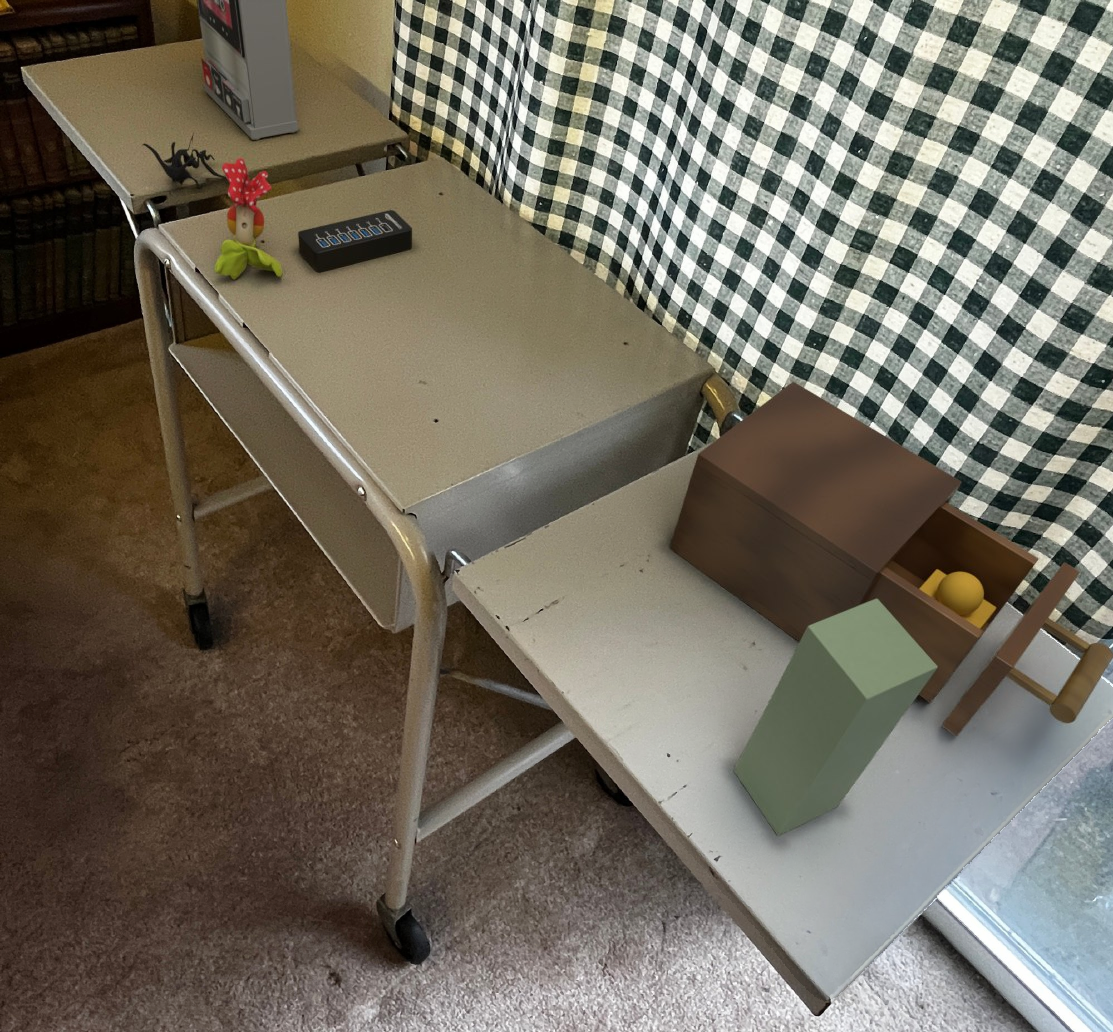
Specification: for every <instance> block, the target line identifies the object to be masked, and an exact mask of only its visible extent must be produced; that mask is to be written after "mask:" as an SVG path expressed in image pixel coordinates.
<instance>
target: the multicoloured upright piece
mask: <svg viewBox="0 0 1113 1032" xmlns="http://www.w3.org/2000/svg"><path fill="white" fill-rule="evenodd" d="M221 170H222V171H223V173H224V175H225V177H226V178H227V179H226V180H227V181H228V183H229V186H228V189H227V195H228V197H229V199H230V201H231V202H232V203H233V205H231V206H230V208H229V209H228V211H227V215H226V224H227V228H228V230H229V232H230V233H231V234H232V235H233V237H234V240H233V239H225V240H224V241H223V242H222V243H221V245H220V255H219V257H217V259H216V261H215V265H214V269H213V271H214V272H215V273H216V274H218V275H222V276H230V277H231V278H230V279H232V280H234V281H235V280H236V279H238V278H239V277H240V275H241V274H242V273H243V272H244V271H245V269H246V268H247V265H249V266H252V267H253V268H256V269H257V268H258V269H261V270H263V271H267V272H273V273H275V275H276V277H282V276H283V268H282V265H281V263H280V262H279V260H277V259H276V258H274V257H272V256H271V255H269V254H268V253H267V252H266V251H264V250H261V248H257V246H256V240H255V239H258V238H259V237H260V236H261V235H262V233H263V230H264V229H265V216H264V214H263V211H262V210H261V209H260V208H259V207H258V206H257V204H258V203H257V201H258V199H259V198H261V197H263V196H264V195H266V194H268V193H269V192H270V191H271V190H272V189H273V187H272V186H271V185H270V183H269V182H268V181H267V179H268V177H269V173H268V172H267V171H265V170H262V171H260V172H259V173H258V174H257V175H256V176H255V177H253V178H252V179H251V180H250V178H249V171H248V169H247V165H246V162H245V160H244V158H242V157H239V158H237V159H236V160H235V162H232V163H231V162H224V163H223V164H222V166H221Z"/></svg>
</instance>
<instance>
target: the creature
mask: <svg viewBox="0 0 1113 1032" xmlns="http://www.w3.org/2000/svg"><path fill="white" fill-rule="evenodd" d="M194 134H195V131H193V132H192V135H191V138H190V141H189V143H188V148H181V149H178V150H177V151H176V152H175V147H176V141H173V142H172V143H171V145H170V146H171V147H170V149H171V157H169V158H167V159H164V160H163V159H162V158H161V156H160V154H159V153H158V151H156V150H155V149H154V148H153V147H152V146H151V145H149V144H147V143H142V145H141V146H144V147H146V148H147V149H148V150H150V152H152V153H153V155H154V157H155V158H156V160H157V162H158V163H159V164H160V166H161V167H162V169H163V170H164V172H165V174H166V175H167V176H168V177H169V178H170V179H171V181H172V182H177V183H179V184H180V185H181V186H182V185H183V184H184V182H185V181H186V180H188V179H191V180H193V181H194V182H195V185H196V187H197V188H198V189H201V188H202V187H203V186H204V185H206V184H207V183H208V182H209V180H215V179H216V180H217V179H219V180H220V179H221V180H222V179H223V180H228V179H227V178H226V176H224V175H222V174H220V173H217V172H216V171H215V170H214V169H213V168H212V167H211V166H210V165H209V164H208V163H207V162H206V161H209V160H210V159H212V160H213V161H216V160H215V158H214V157H213V155H212V154H208V155H207V150H206V149H204V150H200V151H199V150H198V149H196V148H192V150H191V153H190V154H189V153H188V151H189V150H190V148H191V144H192V143H193V142H194V141H193V139H194ZM194 152H195V155H196V156H195V155H194V154H193V153H194ZM182 157H183V162H182ZM200 162H201V163H202V165H203V167H205V169H206V171H208V172H209V174H211V175H212V176H214V177H206V178H204V179H205V180H206V181H207V182H204V183H201V184H200V183H199V181H198V180H197V179H196V178H194V176H192V175H191V174H190V172H189V171H188V170H187V168H189V167H192V168H193V169H195V170H197V169H199V168H200ZM167 164H170V165H167Z"/></svg>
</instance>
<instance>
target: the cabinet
mask: <svg viewBox="0 0 1113 1032" xmlns="http://www.w3.org/2000/svg"><path fill="white" fill-rule="evenodd" d="M693 466H694V467H693V470H692V473H691V476H690V479H689V482H688V485H687V489H686V493H685V496H684V499H683V502H682V505H681V509H680V512H679V515H678V517H677V521H676V525H675V528H674V531H673V535H672V538H671V541H670V545H669V549H670V550H672V551H673V552H675V554H677V555H679V556H680V557H681V558H683V559H684V560H686V561H687V562H688V563H690V564H691V565H692V566H693V567H695V568H696V569H698V570H699V571H701V572H702V573H703V574H704V575H706V576H708V578H710V579H711V580H713V581H714V582H716V583H717V584H719V585H720V586H722V588H724V589H725V590H727V591H728V592H729V593H731V594H733V595H734V596H735V597H737V598H738V599H740V600H741V601H742V602H743V603H745V604H746V605H748V606H749V607H751V608H752V609H753V610H755V611H756V612H757V613H758V614H760V615H761V616H763V617H764V618H766V619H767V620H768V621H770V622H771V623H773V624H774V625H775V626H777V627H778V628H779V629H781V630H782V631H783V632H785V633H786V634H787V635H789V636H790V637H792V638H793V639H794V640H796V641H797V642H798V643H799V642H800V640H801V638H802V636H803V635H804V633H805V631H806V629H807V627H808V626H809V625H811V624H814V623H816V622H819V621H821V620H824V619H826V618H829V617H831V616H834V615H836V614H839V613H841V612H844V611H846V610H849V609H851V608H854V607H856V606H859V605H861V604H862V603H863V602H864V600H865V598H866V596H867V594H868V593H869V591H870V589H871V587H872V586H873V584H874V582H875V580H876V579H877V577H878V575H879V574H880V573H881V571H882V570H883V569H884V568H885V567H886V566H887V565H888V564H889V563H890V562H891V561H892V560H893V559H894V557H895V556H896V555H897V554H898V553H899V552H900V551H901V550H902V549H903V548H904V547H905V546H906V545H907V543H908V542H909V541H910V540H911V539H912V538H913V537H914V536H915V535H916V534H917V533H918V532H919V531H920V529H921V528H922V527H923V526H924V525H925V524H926V523H927V522H928V521H929V520H930V519H931V518H932V517H933V515H934V514H935V513H936V512H937V511H938V510H939V509H940V508H941V507H942V506H943V505H944V504H945V503H946V502H947V503H948V504H950V503H951V501H952V499H953V498H954V496H955V495H956V493H957V491H958V489H959V488H960V486H961V485H962V480H960V479H958V478H957V477H955V476H953V475H951V474H950V473H948V472H946V471H944V470H943V469H941V468H939V467H938V466H936V465H934V464H933V463H931V462H929V461H928V460H927V459H925V458H923V457H921V456H920V455H917V454H916V453H915V452H913V451H911V450H909V449H907V448H906V447H905V446H903V445H901V444H899V443H897V442H896V441H894V440H893V439H891V438H889V437H888V436H886V435H884V434H883V433H880V432H879V431H878V430H876V429H874V428H873V427H871V426H869V425H867V424H866V423H864V422H862V421H861V420H859V419H858V418H856V417H854V416H852V415H851V414H849V413H847V412H846V411H844V410H842V409H840V408H839V407H837V406H835V405H834V404H832V403H830V402H829V401H827V400H826V399H824V398H822V397H820V396H819V395H817V394H815V393H814V392H812V391H811V390H809V389H807V388H805V387H804V386H802V385H800V384H798V383H796V381H792V382H790V383H789V384H788V385H786V386H785V387H783V388H782V389H781V390H780V391H779V392H778V393H776V394H775V395H774V396H772V397H771V398H769V399H768V400H767V401H766V402H764V403H763V404H762V405H760V406H759V407H758V408H756V409H755V410H754V411H752V412H751V413H750V414H749V415H747V416H746V417H744V418H743V419H742V420H741V421H739V422H738V423H737V424H735V425H734V426H733V427H731V428H730V429H729V430H727V431H726V432H724V433H723V434H722V435H721V436H719V437H718V438H716V439H715V441H713V442H711V443H710V444H709V445H708V446H707V447H705V448H704V449H702V450H701V451H699V453H697V457H696V460H695V463H694V465H693Z"/></svg>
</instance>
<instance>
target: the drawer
mask: <svg viewBox="0 0 1113 1032" xmlns="http://www.w3.org/2000/svg"><path fill="white" fill-rule="evenodd" d="M1039 560H1040V559H1039V558H1038V557H1037V556H1035V555H1034V554H1032V553H1031V552H1029V551H1027V550H1026V549H1024V548H1022V547H1021V546H1019V545H1017V544H1016V543H1014V542H1012V541H1011V540H1009V539H1008V538H1006V537H1004V536H1003V535H1001V534H999V533H998V532H996V531H995V530H993V529H991V528H989V527H988V526H987V525H984V523H981V522H980V521H978V520H976V519H974V518H973V517H972V516H970V515H968V514H966V513H965V512H963V511H961V510H960V509H958V508H956V507H955V506H953V505H952V504H950V503H949V504H948V503H947V502H946V503H945V504H944V505H943V506H942V507H941V508H940V509H939V510H938V511H937V512H936V513H935V514H934V515H933V517H932V518H931V519H930V520H929V521H928V522H927V523H926V524H925V525H924V526H923V527H922V528H921V529H920V531H919V532H918V533H917V534H916V535H915V536H914V537H913V538H912V539H911V540H910V541H909V542H908V543H907V545H906V546H905V547H904V548H903V549H902V550H901V551H900V552H899V553H898V554H897V555H896V556H895V557H894V559H893V560H892V561H891V562H890V563H889V564H888V565H887V566H886V567H885V568H884V569H883V570H882V571H881V573H880V574H879V575H878V577H877V579H876V580H875V582H874V584H873V586H872V587H871V589H870V591H869V593H868V594H867V596H866V598H865V600H864V602H863V603H862V604H864V603H866V602H869V601H871V600H874V599H878V600H879V601H880V602H881V603H882V604H883V605H884V607H885V608H886V609H887V610H888V611H889V612H890V613H891V614H892V616H893V617H894V618H895V619H896V620H897V621H898V622H899V624H900V625H901V626H902V627H903V628H904V629H905V630H906V631H907V633H908V634H909V635H910V636H911V637H912V638H913V639H914V640H915V642H916V643H917V644H918V645H919V646H920V647H921V648H922V649H923V651H924V652H925V653H926V654H927V655H928V656H929V657H930V658H931V660H932V661H933V662H934V663H935V664H936V665H937V667H938V668H937V669H936V671H935V672H934V673H933V675H932V676H931V677H930V679H929V680H928V682H927V683H926V684H925V686H924V687H923V689H922V690H921V691H920V693H919V694H918V696H920V697H921V698H923V699H924V700H925V701H927V702H928V703H932V702H933V701H934V699H935V698H936V697H937V695H938V694H939V693H940V692H941V690H942V689H943V688H944V686H945V684H947V682H948V681H949V680H950V679H951V677H952V676H953V674H954V673H955V672H956V671H957V669H958V668H959V666H960V665H961V664H962V662H963V661H964V660H965V658H966V657H967V656H968V654H969V653H970V652H971V650H972V649H973V648H974V647H975V645H976V644H977V643H978V641H979V640H980V639H981V637H983V635H984V633H985V632H986V631H987V629H988V628H989V627H990V625H991V624H992V623H993V621H994V620H995V619H996V617H997V616H998V615H999V613H1001V611H1002V610H1003V608H1004V607H1005V605H1006V604H1008V601H1009V600H1010V599H1011V597H1012V596H1013V595H1014V593H1015V592H1016V590H1017V589H1018V588H1019V586H1021V584H1022V583H1023V581H1024V580H1025V578H1026V577H1027V576H1028V575H1029V573H1030V572H1031V571H1032V569H1033V568H1034V566H1035V565H1036V564H1037V562H1038V561H1039ZM936 569H938V570H940V571H941V572H943V573H944V574H946V575H948V574H951V573H954V572H966V573H969V574H971V575H973V576H974V577H976V578H977V579H978V580H979V581H980V583H981V585H982V587H983V590H984V597H983V599H984V600H986V601H987V602H989V603H990V604H992V605H993V606H995V607H996V610H995V611H994V612H993V614H992V615H991V617H990V618H989V619H988V621H987V622H986V623H985V625H984V626H983V627H982V629H979V628H978V627H976V626H975V625H973V624H972V623H970V622H969V621H967V620H966V619H964V618H963V617H961V616H960V615H958V614H956V613H955V612H953V611H952V610H950V609H949V608H947V607H946V606H944V605H943V604H941V603H940V602H938V601H937V600H935V599H934V598H932V597H931V596H929V595H928V594H926V593H925V592H923V591H922V590H920V589H919V588H920V587H921V586H922V585H923V584H924V583H925V582H926V580H927V579H928V578H929V577H930V576H931V575H932V574H933V573H934V571H935V570H936ZM1080 574H1081V571H1080V570H1078V569H1077V568H1075V567H1073V566H1072V565H1070V564H1068V563H1067V562H1063V563H1062V564H1061V565H1060V567H1059V568H1058V569H1057V571H1056V572H1055V573H1054V574H1053V575H1052V577H1051V578H1050V579H1049V581H1048V582H1047V584H1046V585H1045V586H1044V587H1043V588H1042V590H1041V591H1040V592H1039V594H1038V595H1037V596H1036V598H1035V599H1034V600H1033V601H1032V603H1031V604H1030V605H1029V606H1028V608H1027V609H1026V610H1025V612H1024V613H1023V614H1022V615H1021V617H1020V618H1019V619H1018V621H1017V622H1016V623H1015V625H1014V626H1013V627H1012V628H1011V630H1010V631H1009V632H1008V633H1007V634H1006V636H1005V638H1004V639H1003V640H1002V642H1001V643H1000V645H999V646H998V647H997V648H996V650H995V651H994V652H993V654H992V656H991V657H990V658H989V660H988V661H987V662H986V664H985V665H984V667H983V668H982V669H981V671H980V672H979V673H978V674H977V675H976V677H975V679H974V680H973V682H972V683H971V684H970V686H969V687H968V688H967V690H966V691H965V692H964V693H963V695H962V696H961V698H960V699H959V700H958V702H957V703H956V705H955V706H954V707H953V709H951V711H950V713H949V714H948V715H947V716H946V718H945V720H944V721H943V723H942V724H941V727H943V728H944V729H946V730H947V731H948V732H949V733H951V734H952V735H954V736H955V737H958V736H959V735H960V734H961V732H962V731H964V729H965V727H966V726H967V725H968V724H969V723H970V721H971V720H972V719H973V718H974V716H976V714H977V713H978V712H979V710H980V709H981V708H982V707H983V705H984V704H985V703H986V702H987V700H988V699H989V698H990V697H991V696H992V694H993V693H994V692H995V691H996V689H997V688H998V687H999V686H1000V684H1001V683H1002V682H1003V681H1004V680H1005V679H1006V678H1007V679H1008V680H1009V681H1012V682H1013V683H1015V684H1016V685H1018V686H1019V687H1021V688H1022V689H1023V690H1025V691H1027V693H1030V694H1031V695H1032V696H1034V697H1036V698H1037V699H1038V700H1040V701H1042V702H1043V703H1045V704H1046V705H1048V706H1049V713H1050V715H1051V716H1052V717H1053V718H1054V719H1055V720H1056V721H1058V722H1060V723H1064V724H1070V723H1073V722H1075V721H1076V720H1077V717H1079V715H1080V713H1081V711H1082V710H1083V708H1084V706H1085V705H1086V703H1087V701H1088V699H1089V698H1090V696H1091V694H1092V693H1093V692H1094V690H1095V689H1096V686H1097V685H1098V683H1099V681H1100V680H1101V678H1102V676H1103V675H1104V673H1105V671H1106V670H1107V668H1108V667H1109V665H1110V663H1111V662H1112V660H1113V650H1112V649H1111V647H1109V646H1107V644H1105V643H1102V642H1092V643H1089V642H1088V641H1086V640H1084V639H1082V638H1081V637H1080V636H1078V635H1076V634H1075V633H1074V632H1072V631H1070V630H1069V629H1068V628H1065V627H1064V626H1063V625H1060V624H1059V623H1057V622H1056V621H1054V620H1053V619H1051V618H1050V616H1051V615H1052V613H1053V612H1054V611H1055V609H1056V607H1057V606H1058V605H1059V603H1061V601H1062V599H1063V598H1064V597H1065V595H1066V594H1067V592H1068V590H1069V589H1070V588H1071V586H1072V585H1073V583H1074V582H1075V581H1076V580H1077V578H1078V577H1079V575H1080ZM1041 629H1044V630H1045V631H1047V632H1048V633H1050V634H1051V635H1053V636H1054V637H1056V638H1058V639H1059V640H1061V641H1062V642H1063V643H1066V644H1067V645H1069V646H1070V647H1071V648H1073V649H1074V650H1076V651H1078V652H1079V653H1081V654H1082V656H1081V657H1080V658H1079V660H1078V662H1077V663H1076V665H1075V666H1074V668H1073V669H1072V671H1071V673H1070V674H1069V676H1068V677H1067V679H1066V681H1065V682H1064V684H1063V685H1062V686H1061V688H1060V690H1059V691H1058V693H1057V694H1055V693H1054V692H1052V691H1050V690H1049V689H1048V688H1046V687H1045V686H1043V685H1042V684H1040V683H1038V682H1037V681H1035V680H1034V679H1032V678H1031V677H1029V676H1028V675H1027V674H1025V673H1023V672H1022V671H1020V670H1019V669H1017V668H1016V667H1015V666H1016V665H1017V664H1018V662H1019V660H1020V659H1021V658H1022V657H1023V655H1024V653H1025V652H1026V651H1027V649H1028V648H1029V646H1030V645H1031V643H1032V642H1033V640H1034V639H1035V638H1036V636H1037V635H1038V633H1039V632H1040V630H1041Z"/></svg>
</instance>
